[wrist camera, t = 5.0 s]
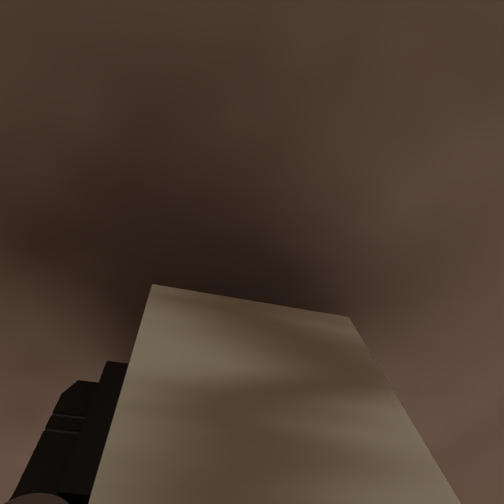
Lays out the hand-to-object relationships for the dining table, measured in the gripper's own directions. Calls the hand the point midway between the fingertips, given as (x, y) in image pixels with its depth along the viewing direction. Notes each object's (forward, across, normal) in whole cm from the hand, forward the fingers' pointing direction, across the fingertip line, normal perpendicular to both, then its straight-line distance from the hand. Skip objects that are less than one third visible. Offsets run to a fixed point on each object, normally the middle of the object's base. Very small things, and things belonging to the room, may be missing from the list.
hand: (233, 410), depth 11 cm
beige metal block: (+1, 0, 0) cm, 1 cm away
